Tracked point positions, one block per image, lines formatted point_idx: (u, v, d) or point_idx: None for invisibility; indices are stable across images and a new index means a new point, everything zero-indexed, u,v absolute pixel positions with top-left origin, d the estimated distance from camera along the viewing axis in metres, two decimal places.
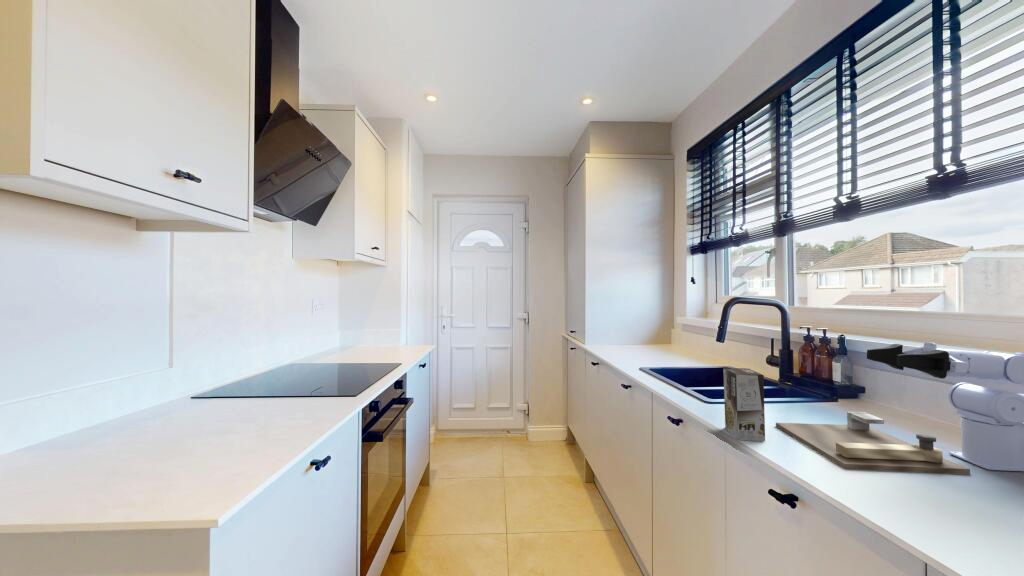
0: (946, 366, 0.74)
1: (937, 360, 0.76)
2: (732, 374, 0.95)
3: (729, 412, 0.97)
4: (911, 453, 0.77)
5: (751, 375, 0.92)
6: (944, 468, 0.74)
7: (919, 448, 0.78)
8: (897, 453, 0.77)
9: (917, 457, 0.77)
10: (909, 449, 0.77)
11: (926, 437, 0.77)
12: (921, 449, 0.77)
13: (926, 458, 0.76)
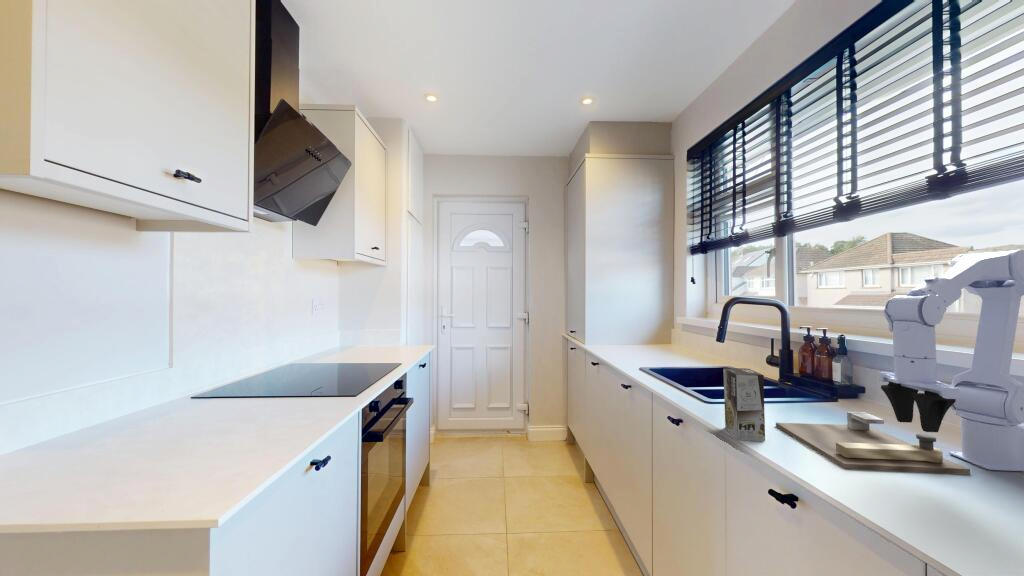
0: (942, 399, 0.69)
1: None
2: (732, 374, 0.95)
3: (729, 412, 0.97)
4: (911, 453, 0.77)
5: (751, 375, 0.92)
6: (944, 468, 0.74)
7: (919, 448, 0.78)
8: (897, 453, 0.77)
9: (917, 457, 0.77)
10: (909, 449, 0.77)
11: (926, 437, 0.77)
12: (921, 449, 0.77)
13: (926, 458, 0.76)
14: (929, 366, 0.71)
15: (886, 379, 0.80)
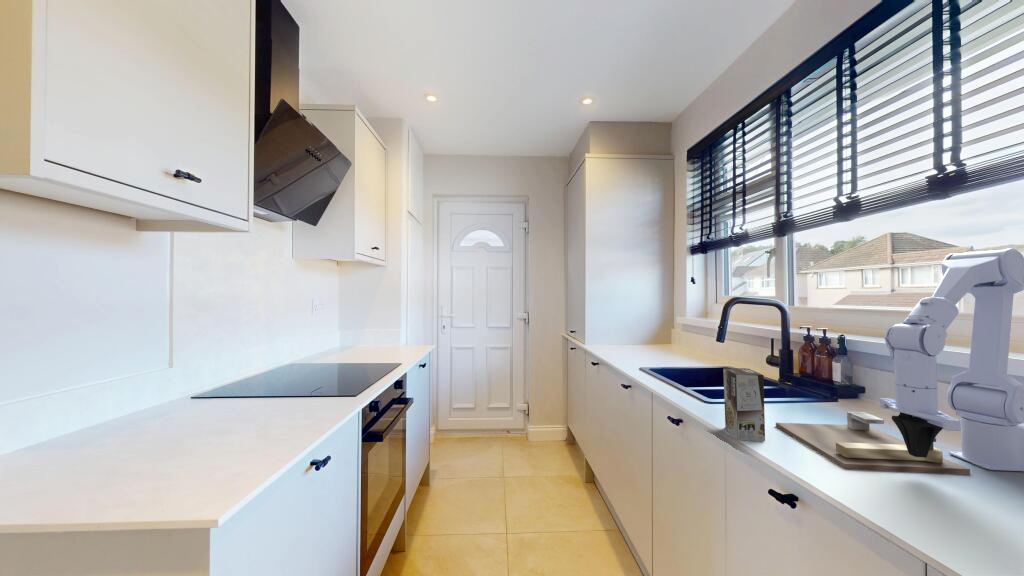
0: (930, 425, 0.71)
1: None
2: (732, 374, 0.95)
3: (729, 412, 0.97)
4: None
5: (751, 375, 0.92)
6: (944, 468, 0.74)
7: None
8: (897, 453, 0.77)
9: (917, 457, 0.77)
10: None
11: None
12: None
13: (926, 458, 0.76)
14: (930, 396, 0.71)
15: (887, 406, 0.80)
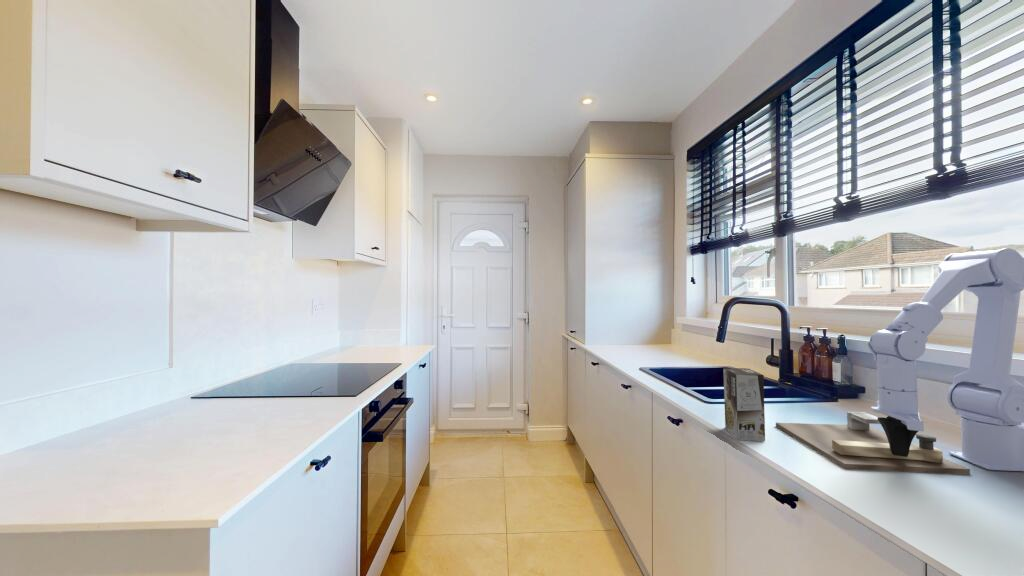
0: (905, 425, 0.75)
1: None
2: (732, 374, 0.95)
3: (729, 412, 0.97)
4: None
5: (751, 375, 0.92)
6: (944, 468, 0.74)
7: (918, 448, 0.78)
8: None
9: (916, 456, 0.77)
10: None
11: (926, 437, 0.78)
12: (920, 449, 0.77)
13: (925, 458, 0.77)
14: (905, 398, 0.75)
15: None
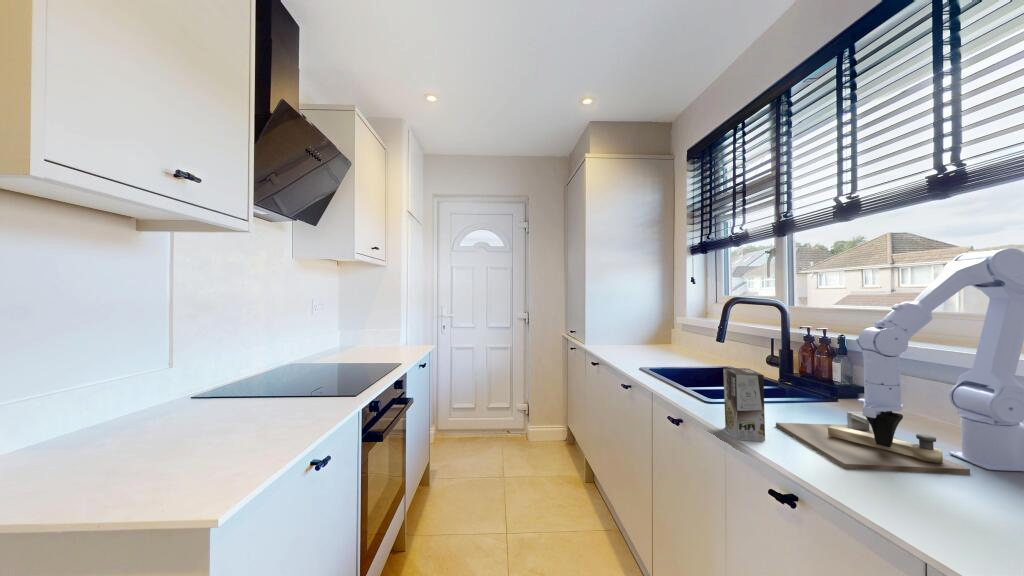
0: (880, 416, 0.81)
1: None
2: (732, 374, 0.95)
3: (729, 412, 0.97)
4: (897, 446, 0.81)
5: (751, 375, 0.92)
6: (944, 468, 0.74)
7: (915, 445, 0.79)
8: None
9: (905, 451, 0.80)
10: (898, 443, 0.81)
11: (922, 436, 0.78)
12: (913, 446, 0.79)
13: (914, 454, 0.78)
14: (877, 390, 0.81)
15: None
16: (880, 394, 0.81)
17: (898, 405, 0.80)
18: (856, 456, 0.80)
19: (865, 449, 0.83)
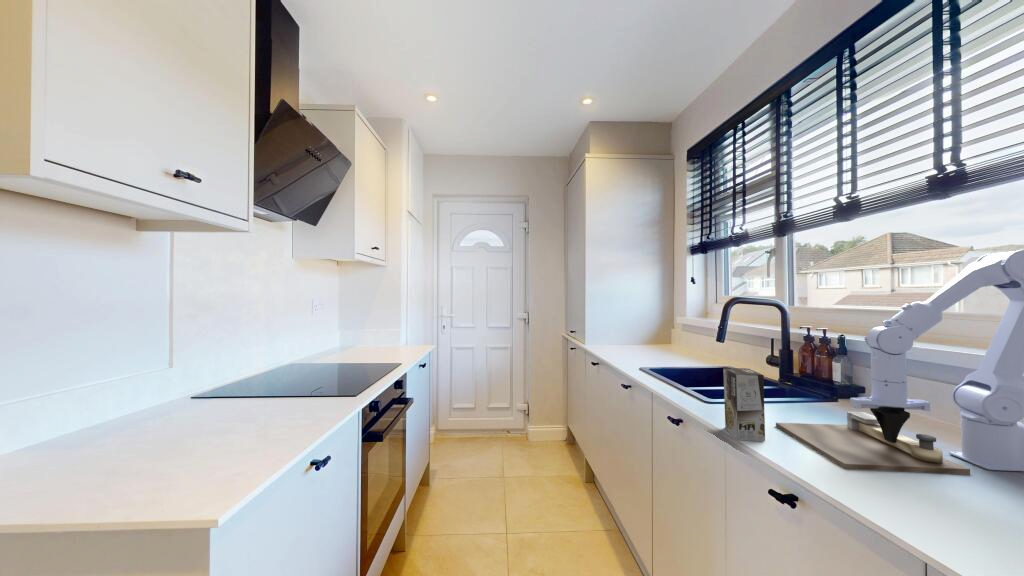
0: (878, 411, 0.84)
1: None
2: (732, 374, 0.95)
3: (729, 412, 0.97)
4: (901, 443, 0.82)
5: (751, 375, 0.92)
6: (944, 468, 0.74)
7: (917, 445, 0.80)
8: None
9: (906, 449, 0.81)
10: (903, 440, 0.82)
11: (920, 435, 0.78)
12: (914, 444, 0.80)
13: None
14: (875, 386, 0.85)
15: None
16: (877, 389, 0.84)
17: (896, 402, 0.82)
18: (856, 456, 0.80)
19: (865, 449, 0.83)
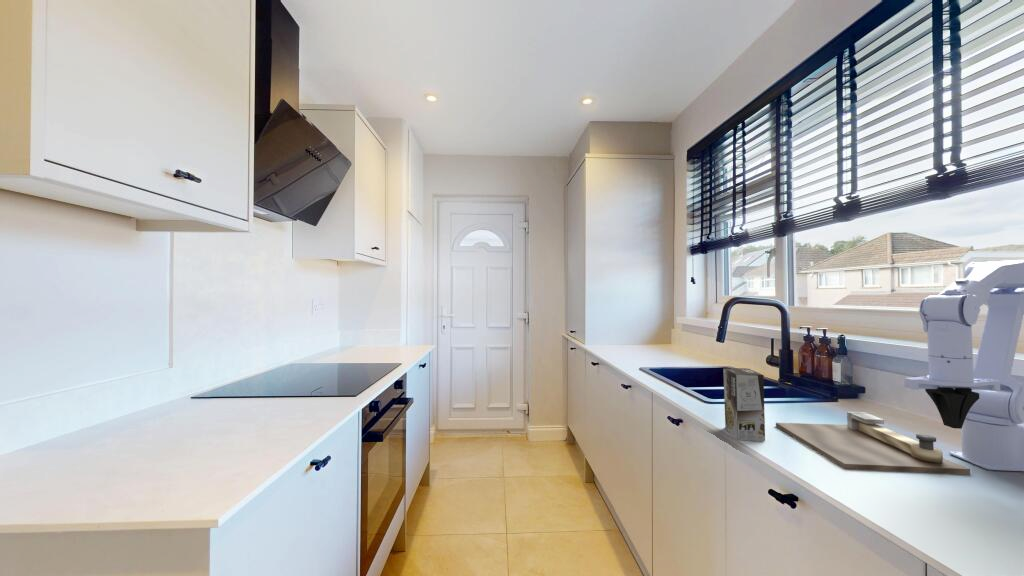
0: (936, 392, 0.73)
1: None
2: (732, 374, 0.95)
3: (729, 412, 0.97)
4: (901, 443, 0.82)
5: (751, 375, 0.92)
6: (944, 468, 0.74)
7: (917, 445, 0.80)
8: (891, 439, 0.85)
9: (906, 449, 0.81)
10: (903, 440, 0.82)
11: (920, 435, 0.78)
12: (914, 444, 0.80)
13: None
14: (934, 363, 0.74)
15: None
16: (936, 367, 0.73)
17: (961, 380, 0.71)
18: (856, 456, 0.80)
19: (865, 449, 0.83)
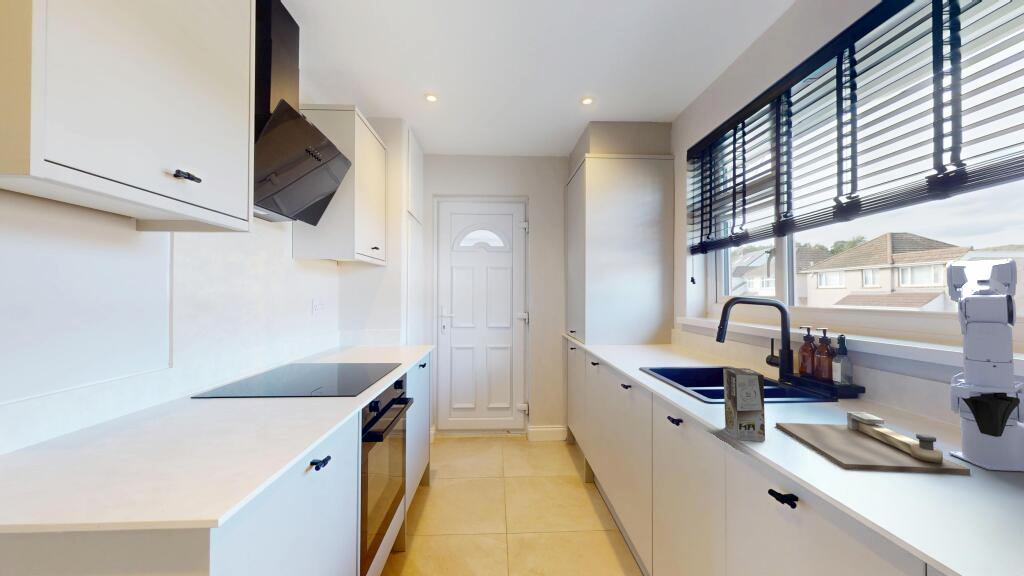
0: (979, 399, 0.68)
1: None
2: (732, 374, 0.95)
3: (729, 412, 0.97)
4: (901, 443, 0.82)
5: (751, 375, 0.92)
6: (944, 468, 0.74)
7: (917, 445, 0.80)
8: (891, 439, 0.85)
9: (906, 449, 0.81)
10: (903, 440, 0.82)
11: (920, 435, 0.78)
12: (914, 444, 0.80)
13: None
14: (977, 368, 0.68)
15: None
16: (980, 372, 0.68)
17: (1007, 386, 0.66)
18: (856, 456, 0.80)
19: (865, 449, 0.83)
